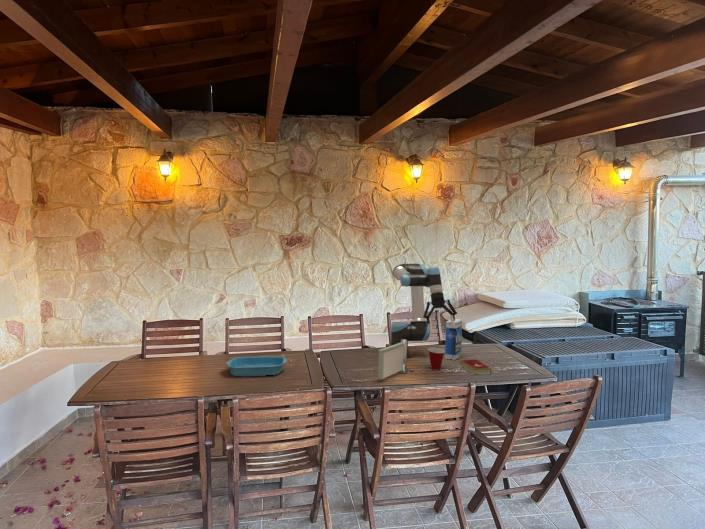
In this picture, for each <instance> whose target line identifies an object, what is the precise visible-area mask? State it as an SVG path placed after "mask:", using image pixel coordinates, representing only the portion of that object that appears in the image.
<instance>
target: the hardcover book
mask: <svg viewBox="0 0 705 529" xmlns="http://www.w3.org/2000/svg"><path fill="white" fill-rule="evenodd" d="M459 361H460V362H459V365H460V366H461V365H462V366H463V367H464V369H465V370H466V369H467V370H468V372H469V373H470V372H471V373H472V374H471V373H470V374H471V375H473V374H479V375H491V374H492V368H491V367H489V366H487V365H486V364H485V363H483V362H482V361H480V360H479V359H477V358H476V359H475V358H473V359H472V358H470V359H459ZM462 366H461V367H462ZM463 367H462V368H463ZM467 370H466V371H467Z"/></svg>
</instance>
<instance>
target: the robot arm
mask: <svg viewBox="0 0 705 529" xmlns="http://www.w3.org/2000/svg"><path fill="white" fill-rule="evenodd" d="M392 275H393V278H394V279H395V280H397V281H400V286H401V287H406V288H407V287H410V294H411V295H410V296H411V298H410V299H411V300H410V301H411V316H412V318H411V320H410V323H409V322H407V321H397V322H393V323H392V325H391V328H390V346H392V345H395V344H398V343H401V340H402V339H406V340H407V359H409V358H411V352H410V349H409V345H408V344H409V342H426V341H428V340H429V338H430V335H431V330H433V324H432V318H431V315H432V314H433V312H434V310H436V309H444V310H445V311H446V312H447V313H448V314H449V315H450V316H449V318H450V320H451V324H452V327H455V326H454V321H455V319H456V317H455V316H456V315H457V314H458V312H457V311H456V309H455V307H454V306H453V305H452V303H451V301H450V299H449V298H448V299H445V297H444V292H443V285H442V284H443V283H442V278H441V272H440V268H439V267H438V266H432V267H429V268H427V267H426V265H425V264H424V263H400V264H397V265H396V266H395V267H394V268H393V270H392ZM424 287H425V288H429V293H430V298H431V299H430V300H431V301H426V307H425V299H424V298H425V297H424V296H425V295H424ZM446 304H447V305H446ZM430 306H432V307H431V309H430ZM447 306H448V307H449V308H448V307H447ZM429 309H430V310H429ZM428 311H429V312H428Z"/></svg>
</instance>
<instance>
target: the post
mask: <svg viewBox="0 0 705 529" xmlns="http://www.w3.org/2000/svg"><path fill="white" fill-rule="evenodd" d="M401 343H403V370H401V371H399V372H401V373H400V374H403V373H404V374H403V375H405V373H406V374H409V373H411V371H412V372H413V371H414V369H410V368H407V367H408V366H407V365H408V364H407V359H408V358H407V340H406V339H402V340H401ZM399 372H398V373H399ZM408 372H409V373H408Z"/></svg>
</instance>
